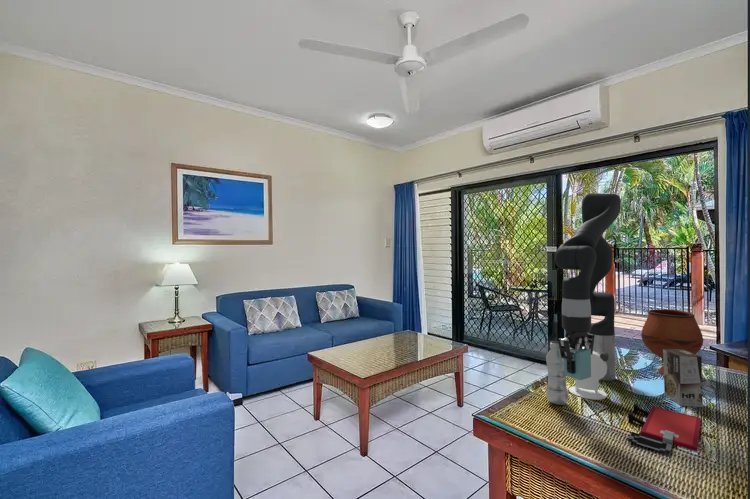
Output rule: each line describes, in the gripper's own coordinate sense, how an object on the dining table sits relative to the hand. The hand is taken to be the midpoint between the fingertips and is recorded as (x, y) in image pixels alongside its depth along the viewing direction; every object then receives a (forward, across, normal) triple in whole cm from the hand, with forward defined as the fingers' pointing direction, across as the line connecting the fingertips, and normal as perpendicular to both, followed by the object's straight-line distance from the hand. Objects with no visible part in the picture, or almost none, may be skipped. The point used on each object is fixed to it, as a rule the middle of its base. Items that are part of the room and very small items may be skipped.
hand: (577, 370), depth 104 cm
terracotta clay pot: (+16, -70, -6) cm, 72 cm away
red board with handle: (+15, -15, +14) cm, 26 cm away
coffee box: (+15, -43, +8) cm, 46 cm away
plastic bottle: (+15, -6, -11) cm, 19 cm away
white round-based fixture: (+15, -23, -11) cm, 29 cm away
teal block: (+1, 0, 0) cm, 1 cm away
